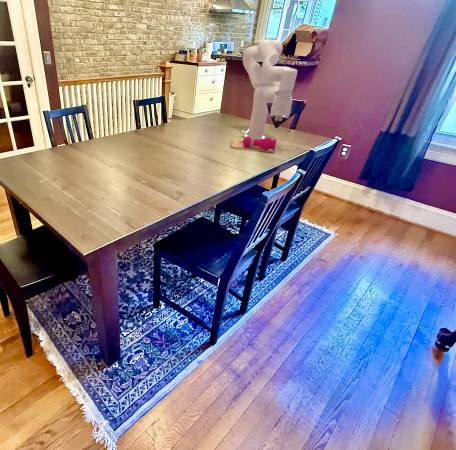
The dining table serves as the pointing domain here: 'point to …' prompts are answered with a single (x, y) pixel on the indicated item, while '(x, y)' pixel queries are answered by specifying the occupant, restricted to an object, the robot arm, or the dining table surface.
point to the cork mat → (240, 145)
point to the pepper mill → (259, 143)
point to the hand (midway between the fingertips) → (276, 127)
